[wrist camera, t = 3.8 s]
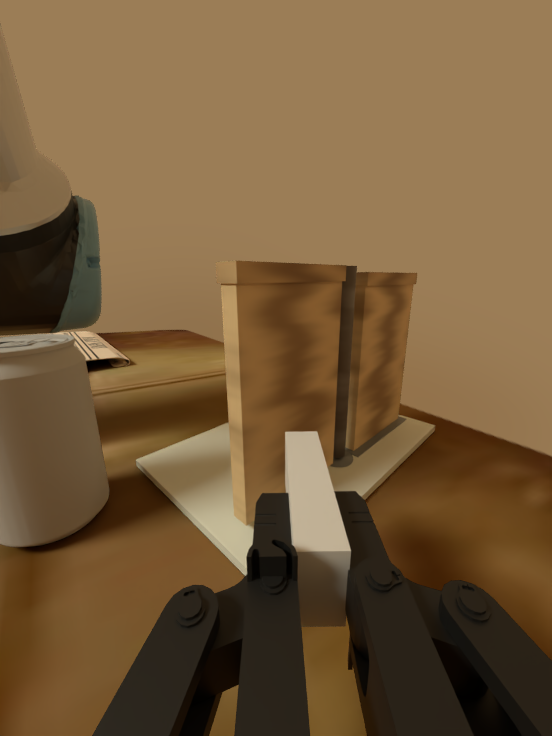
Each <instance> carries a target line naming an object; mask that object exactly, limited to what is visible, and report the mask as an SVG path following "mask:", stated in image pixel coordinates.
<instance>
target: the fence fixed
mask: <svg viewBox="0 0 552 736" xmlns="http://www.w3.org/2000/svg"><path fill="white" fill-rule="evenodd" d="M416 280H417V273H383V272H360V273H359V272H358V273H356V288H355V304H354V320H353V335H352V351H351V367H350V383H349V399H348V415H347V430H346V446H345V447H346V448H348V449H350V450H353V451H354V450H356V449H357V448H359V447H360V446H361V445H363V444H364V443H365V442H367V441H368V440H369V439H371V438H372V437H373V436H375V435H376V434H377V433H379V432H380V431H382V430H383V429H384V428H386V427H387V426H388V425H390V424H391V423H392V422H394V421H395V420H396V419H398V415H399V406H400V397H401V389H402V379H403V371H404V362H405V353H406V345H407V335H408V327H409V319H410V310H411V301H412V292H413V284H416Z"/></svg>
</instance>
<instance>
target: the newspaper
mask: <svg viewBox="0 0 552 736" xmlns="http://www.w3.org/2000/svg"><path fill="white" fill-rule="evenodd" d="M52 334H62V335H70V336H73V337H74V339H75V343H74V346H75V347H76V348H77V349H78V350H79V351H80V352H81V353H82V354H83V355H84V356H85V359H86V361H93V360H101V359H106V360H107V361H108V362H109V363H110V364H111V365H112V366H113V367H118V366H124V365H125V366H128V365H129V364H130V360H129V359H128V358H127V357H125V356H124V355H123V354H121V353H120V352H119V351H118V350H116V349H115V348H114V347H112V346H111V345H110V344H109V343H107V342H106V341H105V340H103V339H102V338H101V337H100V336H98V335H97V334H95V333H92V332H88V331H84V332H61V333H52Z"/></svg>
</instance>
